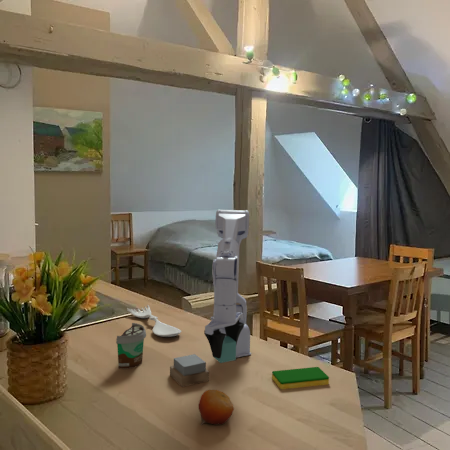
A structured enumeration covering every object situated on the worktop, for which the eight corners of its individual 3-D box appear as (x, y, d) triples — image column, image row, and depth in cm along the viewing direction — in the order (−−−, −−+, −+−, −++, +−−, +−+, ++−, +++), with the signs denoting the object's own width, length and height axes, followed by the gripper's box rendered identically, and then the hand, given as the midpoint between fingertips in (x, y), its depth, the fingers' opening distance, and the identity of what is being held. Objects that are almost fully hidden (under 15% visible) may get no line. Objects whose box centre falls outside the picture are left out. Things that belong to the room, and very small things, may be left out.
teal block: (228, 353, 138) (228, 336, 137) (235, 360, 134) (236, 341, 133) (212, 356, 136) (213, 338, 135) (220, 362, 132) (220, 344, 131)
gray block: (194, 362, 144) (194, 354, 144) (205, 371, 139) (205, 362, 138) (173, 366, 141) (173, 358, 141) (183, 375, 135) (184, 366, 135)
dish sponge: (329, 385, 138) (329, 377, 138) (280, 391, 134) (280, 382, 134) (318, 374, 145) (318, 366, 144) (271, 379, 141) (271, 370, 141)
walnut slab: (196, 371, 146) (196, 360, 145) (209, 382, 139) (209, 371, 138) (169, 376, 142) (169, 366, 141) (181, 388, 135) (181, 377, 134)
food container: (137, 372, 143) (137, 338, 141) (116, 370, 144) (116, 336, 142) (152, 355, 155) (152, 323, 153) (132, 354, 156) (132, 322, 154)
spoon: (148, 312, 197) (148, 303, 197) (186, 338, 170) (186, 328, 170) (125, 315, 192) (125, 306, 192) (161, 343, 165) (161, 333, 165)
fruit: (189, 406, 122) (207, 378, 121) (218, 421, 123) (236, 394, 122) (190, 424, 114) (209, 394, 113) (220, 440, 115) (239, 411, 114)
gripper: (228, 294, 141) (227, 341, 143) (195, 306, 129) (195, 358, 131) (249, 298, 137) (248, 347, 139) (218, 312, 125) (217, 365, 127)
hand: (224, 353), depth 135 cm, fingers closed on teal block, 6 cm apart
